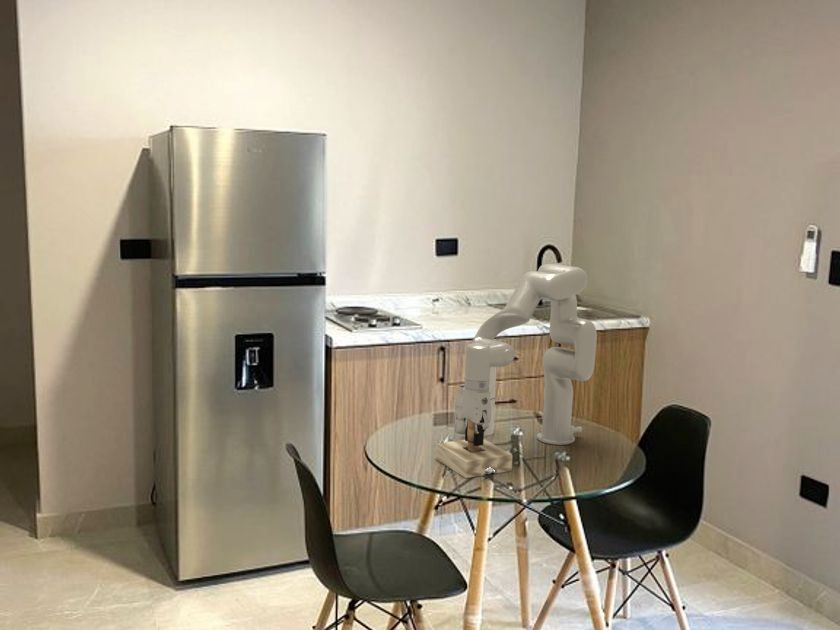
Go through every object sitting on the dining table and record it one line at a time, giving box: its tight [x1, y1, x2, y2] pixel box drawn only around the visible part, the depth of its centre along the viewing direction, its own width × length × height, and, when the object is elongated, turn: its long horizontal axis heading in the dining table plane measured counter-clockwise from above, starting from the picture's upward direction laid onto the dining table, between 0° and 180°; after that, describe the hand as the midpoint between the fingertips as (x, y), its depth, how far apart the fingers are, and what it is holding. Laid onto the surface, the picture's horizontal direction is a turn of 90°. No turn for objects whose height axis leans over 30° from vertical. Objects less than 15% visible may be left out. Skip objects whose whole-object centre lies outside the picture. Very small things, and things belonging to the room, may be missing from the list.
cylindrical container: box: [484, 367, 497, 436], centre depth 292 cm, size 7×7×25 cm
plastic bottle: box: [452, 384, 465, 441], centre depth 277 cm, size 6×7×20 cm
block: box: [435, 439, 513, 479], centre depth 261 cm, size 16×18×5 cm
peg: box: [467, 418, 481, 453], centre depth 260 cm, size 4×4×12 cm
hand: (474, 442), depth 260 cm, fingers closed on peg, 4 cm apart
